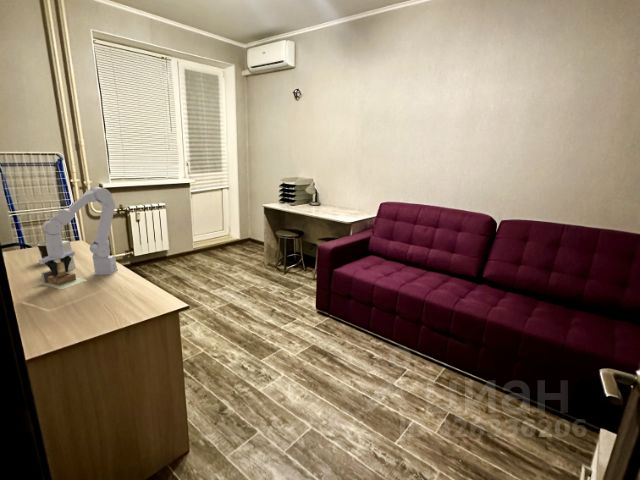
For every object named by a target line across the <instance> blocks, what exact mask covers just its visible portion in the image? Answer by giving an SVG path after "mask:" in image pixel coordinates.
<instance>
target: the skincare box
mask: <svg viewBox="0 0 640 480" xmlns="http://www.w3.org/2000/svg"><path fill="white" fill-rule="evenodd" d="M62 242H63V247H64V252H69V251H73V250H72V245H71V241H70V240H62ZM46 248H47V252H48V256H49V251H48V246H47V244H46ZM69 257H71V261H70V263H69V267H68V272H70V271H72V270H74V269H76V264H75V259H74V256H69ZM54 261H55V262H59V261H60V259H57V260H54Z"/></svg>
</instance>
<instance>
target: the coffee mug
mask: <svg viewBox="0 0 640 480" xmlns="http://www.w3.org/2000/svg"><path fill="white" fill-rule="evenodd" d="M46 244H47V241H44V242H43V241H42V242H39V243H37V244H36V246H37V249H38V250H39V254H40V256H41V259H42V258H45V257H47V256H48V252H47V248H46Z"/></svg>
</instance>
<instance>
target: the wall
mask: <svg viewBox="0 0 640 480" xmlns="http://www.w3.org/2000/svg"><path fill="white" fill-rule="evenodd" d="M50 275H53V273H52V271H51V270H46V271H43V272H41V277H42V279H41V280H42V283H48V282H47V276H50Z"/></svg>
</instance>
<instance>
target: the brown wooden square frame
mask: <svg viewBox="0 0 640 480" xmlns="http://www.w3.org/2000/svg"><path fill="white" fill-rule="evenodd" d="M76 277H77V275H76V273H74V272H70V271H68V272H67V273H66V276H63V277H60V278H57V277H56V276H55V275H50V276H47V282H48V283H51V284H55V285H58V286H59V285H62V284H65V283H68V282H71V281H73V280H76Z"/></svg>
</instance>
